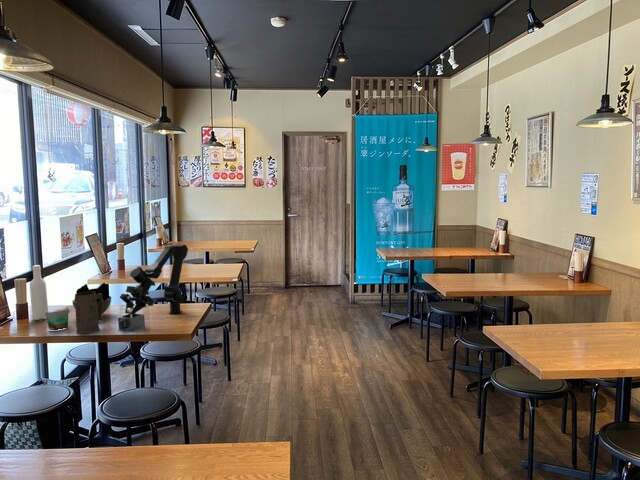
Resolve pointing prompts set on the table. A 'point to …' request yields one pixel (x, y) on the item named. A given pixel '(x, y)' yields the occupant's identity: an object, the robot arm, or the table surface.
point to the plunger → (130, 311)
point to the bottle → (38, 294)
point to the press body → (131, 322)
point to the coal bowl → (100, 289)
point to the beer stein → (88, 312)
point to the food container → (57, 319)
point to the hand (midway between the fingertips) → (129, 313)
